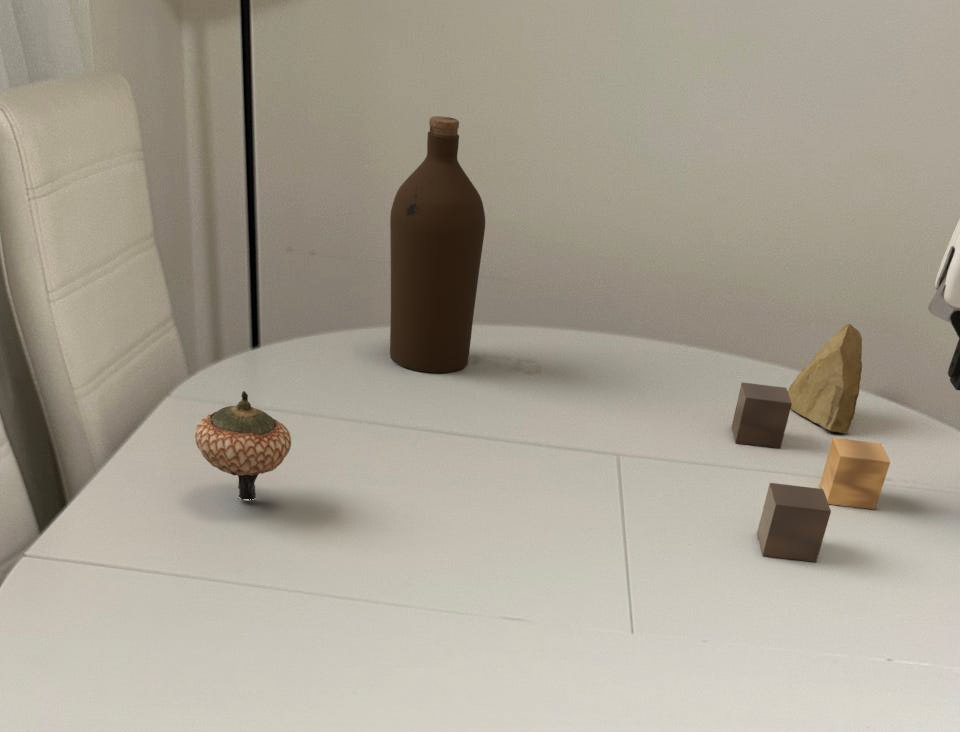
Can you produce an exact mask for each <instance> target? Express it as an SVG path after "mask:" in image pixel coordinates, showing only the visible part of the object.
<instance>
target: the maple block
mask: <svg viewBox="0 0 960 732" xmlns="http://www.w3.org/2000/svg"><path fill="white" fill-rule="evenodd" d="M890 464H891V460H890V458H889V456H888V454H887V452H886V449H885V448H884V446H883V444H882V443H881V442H873V441H865V440H857V439H848V438H840V437H832V438H831V442H830V446H829V449H828V453H827V456H826V460H825V464H824V467H823V470H822V473H821V478H820V481H819V487H820V489H823V490H824V493H825V496H826V499H827V501H828V504H829V505H831V506H832V505H833V506H841V507H851V508H858V509H866V510H867V509H868V510H876V508H877V506H878V503H879V499H880V497H881V493H882V490H883V487H884V483H885V480H886V477H887V474H888V471H889V468H890Z"/></svg>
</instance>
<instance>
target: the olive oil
mask: <svg viewBox="0 0 960 732" xmlns="http://www.w3.org/2000/svg"><path fill="white" fill-rule="evenodd" d="M428 124H429V131H427V141H426V143H427V144H426V156H425V158H424V160H423V161H422V162H421V163H420V165H418V166H417V167H416V169H414V171H413V172H412V173H411V174H410V175H408V177H407V178H406V179H405V180H404V181H403V182H402V184H401V185H399V188H398V189H397V190H396V193H395V196H394V199H393V202H392V205H391V209H390V216H389V217H390V218H389V220H390V221H389V224H390V225H389V227H390V229H389V230H390V231H389V232H390V235H389V236H390V238H389V239H390V328H389V330H390V332H389V336H390V337H389V357H390V359H391V360H392V361H393V362H394V363H395V364H397V365H398V366H400V367H403V368H407V369H409V370H413V371H419V372H426V373H451V372H456V371H460V370H462V369H464V368H465V367H466V366H468V364H469V360H470V351H471V341H472V332H473V325H474V323H473V322H474V315H475V308H476V307H475V306H476V298H477V291H478V282H479V275H480V270H481V269H480V268H481V262H482V253H483V246H484V239H485V231H486V213H485V208H484V207H485V206H484V204H483V203H484V202H483V200H482V197H481V195H480V193H479V191H478V190H477V188H476V187H475V185H474V184H473V182H472V181H471V179H470V178H469V177H468V174H467V173H466V172H465V170H464V169H463V168H462V166H461V164H460V162H459V159H458V155H459V153H458V152H459V144H460V141H459V140H460V135H459V134H458V132H459V128H460V121H459V119H457V118H454V117H450V116H441V115H440V116H431V117H430V118H429V123H428Z"/></svg>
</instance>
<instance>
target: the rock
mask: <svg viewBox="0 0 960 732" xmlns="http://www.w3.org/2000/svg"><path fill="white" fill-rule="evenodd" d="M862 342H863V337H862V334H861V333H860V331H859V330H858V329H857V328H856V327H854V326H853V325H852V324H850V323H845V324H844V325H843V327H842V328H841V329H840V330H839V331H838V332H837V333H836V334H834V335H833V336H832V337H831V338H830V340H827V342H826V343H825V344H824V345H823V346H822V348H821V349H820V350H819V351H818V352H817V353H816V354H815V355H814V357H813V358H812V360H811V361H809V364H807V365H806V366H805V367H804V368H803V369H802V370H801V371H800V372H799V373H798V374H797V376H796V377H795V379H793V381H792V382H791V384H790V386H789V387H788V390H787V391H788V394H789V397H790V399H791V402H792V405H791V409H790V410H792V411H794V412H795V413H797V414H798V415H800V416H802V417H804V418H806V419H808V420H809V421H810V422H812V423H814V424H817V425H819V426H821V428H823V429H825V430H826V431H828V432H833V433H840V434H847V432H848V431H849V428H850V427H851V424H852V423H851V422H852V420H853V419H854V416H855V414H856V406H857V401H858V398H859V395H860V383H861V380H862V371H863V362H862V355H863V353H862V352H863V343H862Z"/></svg>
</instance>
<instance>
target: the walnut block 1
mask: <svg viewBox="0 0 960 732" xmlns="http://www.w3.org/2000/svg"><path fill="white" fill-rule="evenodd" d="M788 391H789V390H788V389H787V387H784V386H775V385H768V384H759V383H752V382H751V383H750V382H741V384H740V388H739V392H738V397H737V400H736V405H735V408H734V409H735V410H734V415H733V419H732V423H731V430H732V434H733V438H734V442H735V444H740V445H748V446H758V447H764V448H765V447H766V448H773V449H781V447H782V444H783V440H784V436H785V432H786V428H787V424H788V420H789V417H790V413H791V410H792V409H791V405H792V402H791V399H790V397H789V394H788Z"/></svg>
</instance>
